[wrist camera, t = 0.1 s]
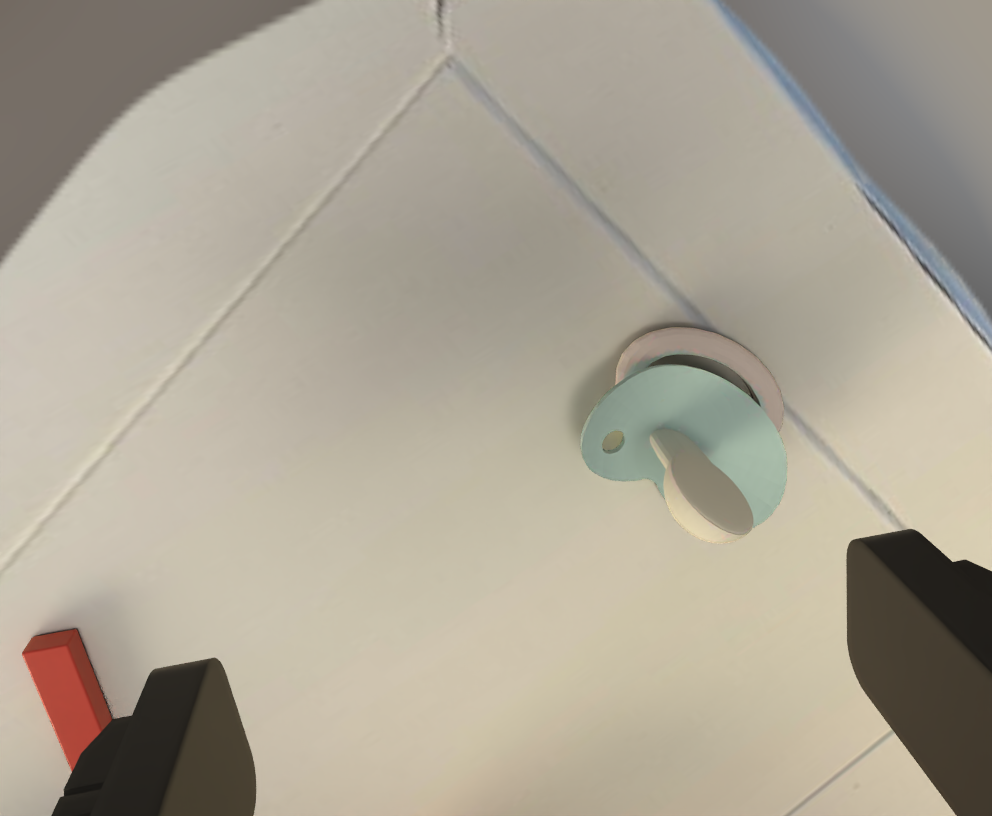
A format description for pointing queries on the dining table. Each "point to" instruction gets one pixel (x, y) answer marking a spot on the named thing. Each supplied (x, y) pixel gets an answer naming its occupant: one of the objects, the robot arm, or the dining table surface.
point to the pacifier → (694, 433)
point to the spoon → (67, 690)
